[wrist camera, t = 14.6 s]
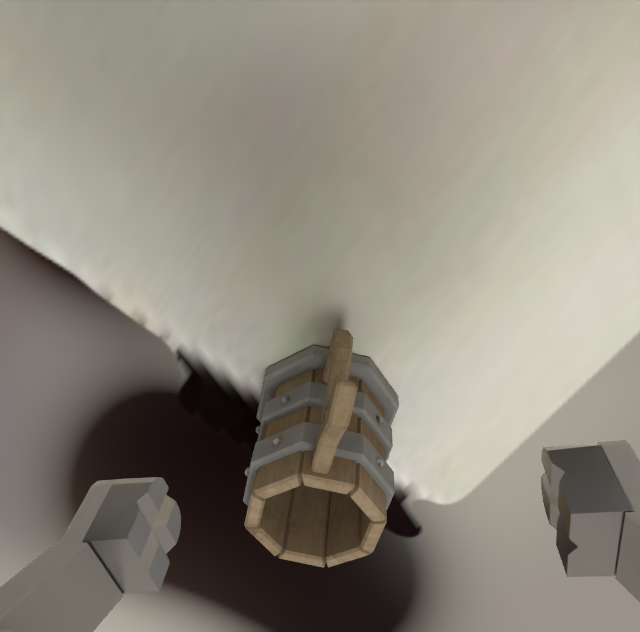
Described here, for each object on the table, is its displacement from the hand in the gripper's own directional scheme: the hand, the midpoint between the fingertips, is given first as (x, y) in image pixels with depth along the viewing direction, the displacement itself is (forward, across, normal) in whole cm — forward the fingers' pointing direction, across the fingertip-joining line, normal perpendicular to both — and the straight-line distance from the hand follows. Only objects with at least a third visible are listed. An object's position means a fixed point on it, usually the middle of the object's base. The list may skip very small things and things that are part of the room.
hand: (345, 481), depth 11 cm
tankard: (+31, +6, +21) cm, 38 cm away
